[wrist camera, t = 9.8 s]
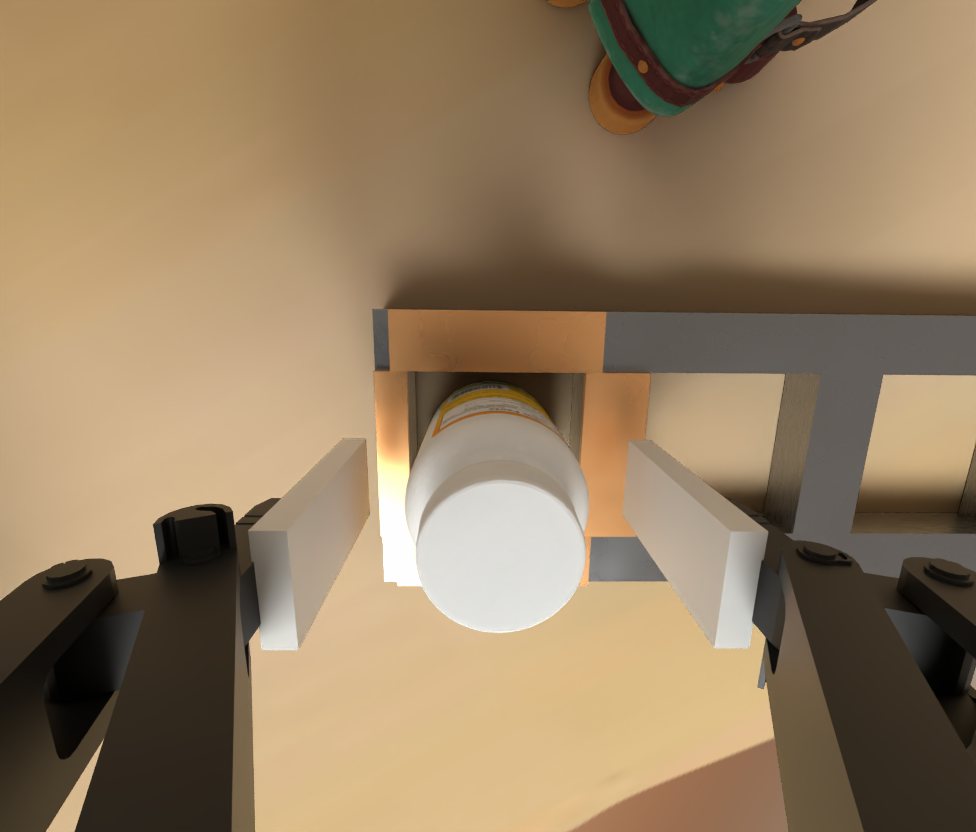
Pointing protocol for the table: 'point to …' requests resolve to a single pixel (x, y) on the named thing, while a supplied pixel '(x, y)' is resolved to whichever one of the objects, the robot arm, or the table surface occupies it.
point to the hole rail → (624, 403)
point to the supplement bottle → (496, 510)
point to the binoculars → (686, 51)
